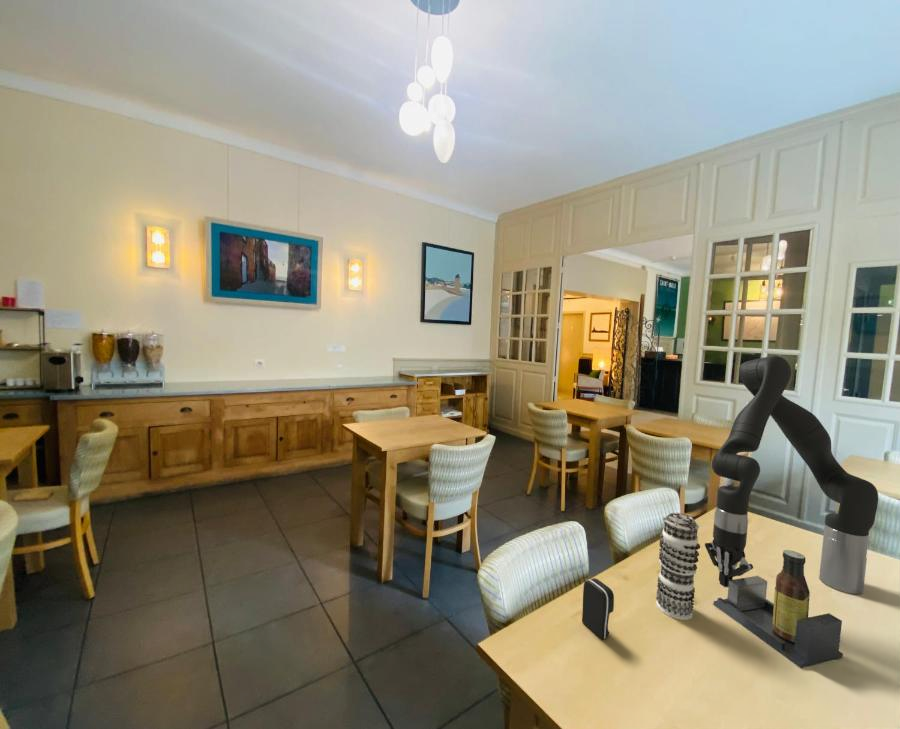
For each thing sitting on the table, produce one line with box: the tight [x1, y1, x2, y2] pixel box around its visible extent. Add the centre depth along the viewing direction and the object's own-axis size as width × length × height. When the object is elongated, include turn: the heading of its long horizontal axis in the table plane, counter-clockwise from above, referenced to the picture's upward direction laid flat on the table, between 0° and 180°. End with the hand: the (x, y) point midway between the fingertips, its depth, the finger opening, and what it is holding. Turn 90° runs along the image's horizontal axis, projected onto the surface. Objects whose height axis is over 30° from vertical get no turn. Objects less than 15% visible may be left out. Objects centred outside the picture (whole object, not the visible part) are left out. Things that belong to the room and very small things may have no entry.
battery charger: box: [581, 578, 615, 640], centre depth 95 cm, size 7×4×11 cm, turn 26°
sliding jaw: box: [726, 575, 768, 611], centre depth 103 cm, size 10×2×7 cm, turn 105°
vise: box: [712, 597, 844, 669], centre depth 97 cm, size 13×21×9 cm, turn 15°
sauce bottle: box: [773, 549, 811, 643], centre depth 93 cm, size 7×6×20 cm
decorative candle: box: [655, 512, 701, 621], centre depth 103 cm, size 9×9×25 cm
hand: (725, 585), depth 109 cm, fingers closed
